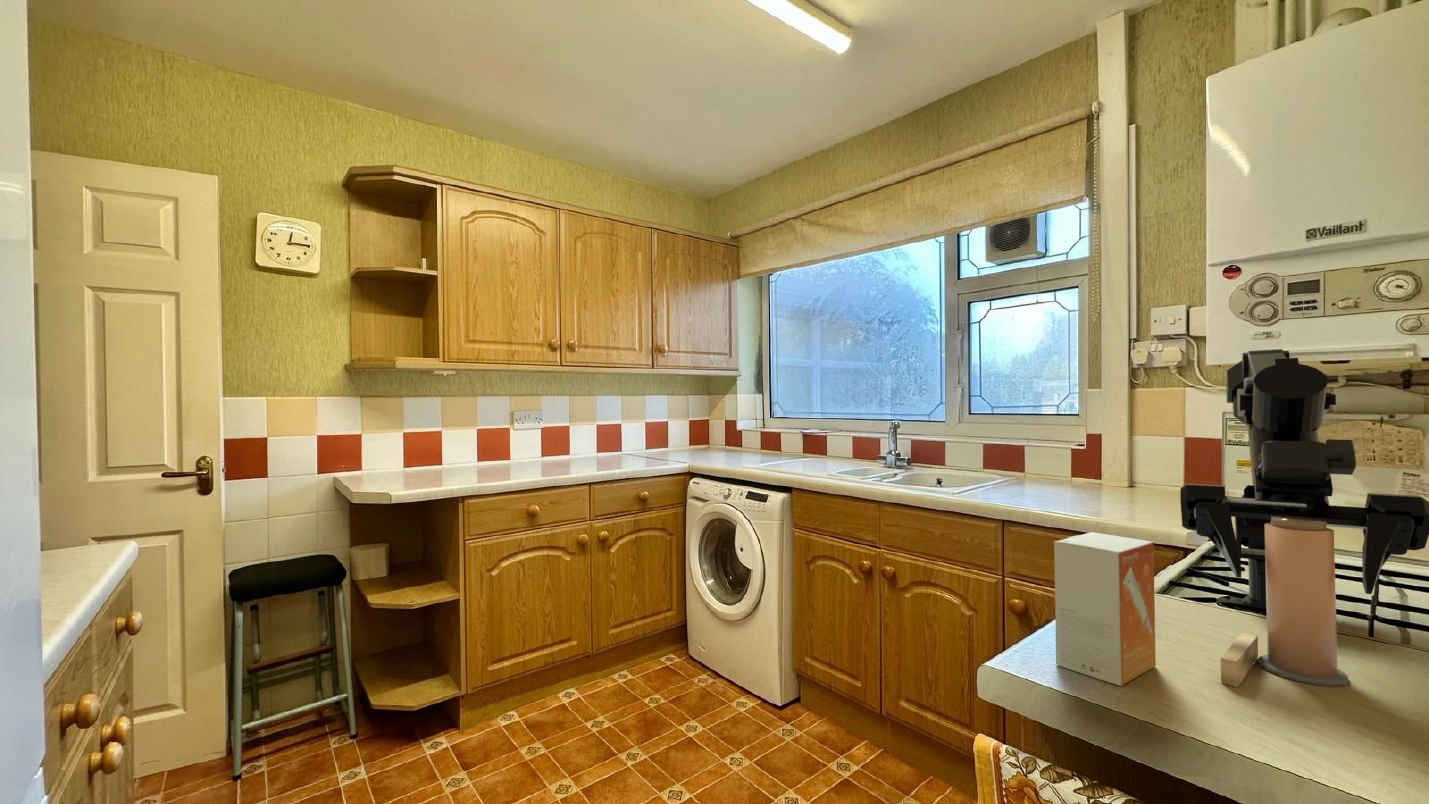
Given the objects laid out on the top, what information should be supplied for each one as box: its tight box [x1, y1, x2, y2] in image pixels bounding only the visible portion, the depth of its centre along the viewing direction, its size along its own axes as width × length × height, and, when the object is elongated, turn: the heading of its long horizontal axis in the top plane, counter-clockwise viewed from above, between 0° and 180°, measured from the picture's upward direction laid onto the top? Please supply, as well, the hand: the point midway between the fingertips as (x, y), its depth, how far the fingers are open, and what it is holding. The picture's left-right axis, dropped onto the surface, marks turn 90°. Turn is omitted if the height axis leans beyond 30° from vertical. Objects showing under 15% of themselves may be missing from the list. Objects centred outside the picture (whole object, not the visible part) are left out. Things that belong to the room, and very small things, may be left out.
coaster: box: [1257, 654, 1349, 687], centre depth 60 cm, size 6×6×1 cm
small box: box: [1053, 531, 1157, 687], centre depth 62 cm, size 8×6×13 cm
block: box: [1220, 631, 1259, 688], centre depth 60 cm, size 10×1×2 cm, turn 129°
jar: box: [1264, 516, 1338, 678], centre depth 60 cm, size 5×5×15 cm
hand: (1300, 583), depth 59 cm, fingers open, 9 cm apart
